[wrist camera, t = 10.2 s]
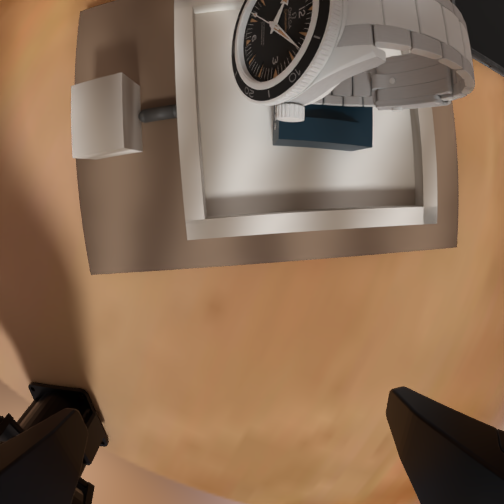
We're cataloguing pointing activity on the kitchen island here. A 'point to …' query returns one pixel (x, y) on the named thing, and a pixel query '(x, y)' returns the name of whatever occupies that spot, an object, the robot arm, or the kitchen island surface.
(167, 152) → the charging board
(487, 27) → the phone
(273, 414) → the kitchen island surface
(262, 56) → the watch
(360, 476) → the kitchen island surface
